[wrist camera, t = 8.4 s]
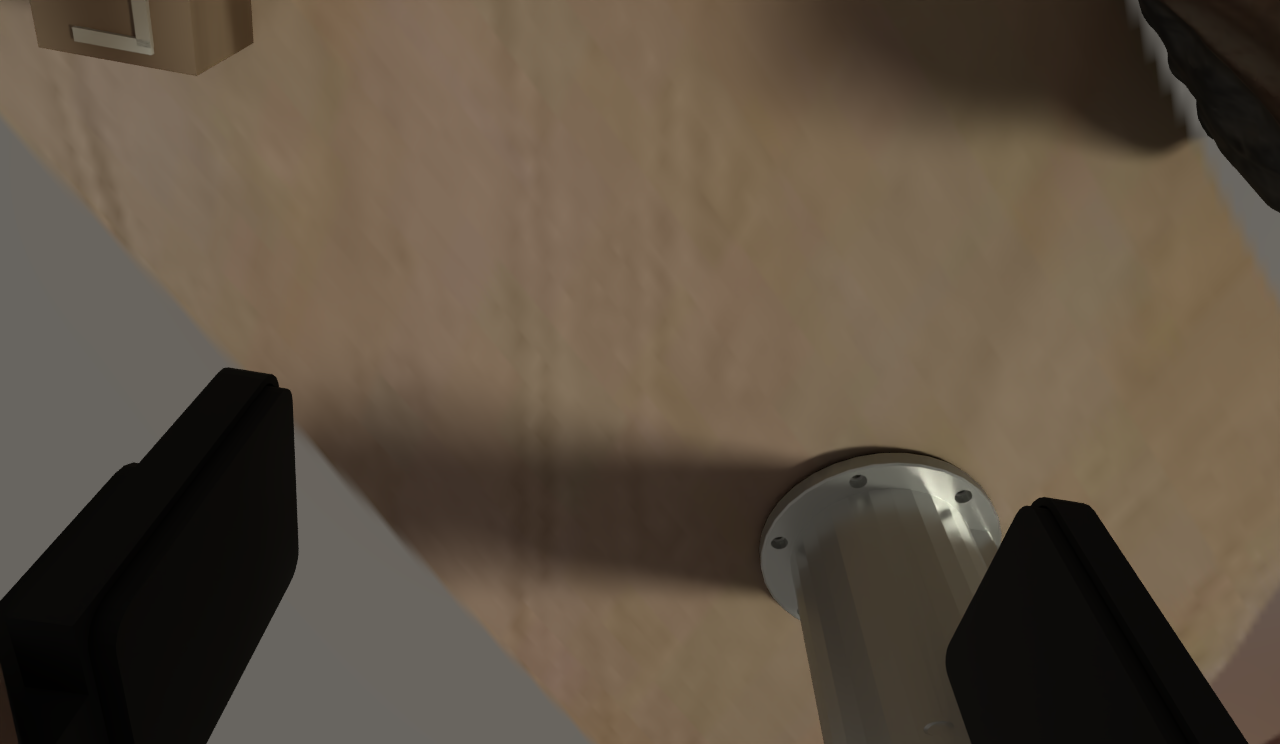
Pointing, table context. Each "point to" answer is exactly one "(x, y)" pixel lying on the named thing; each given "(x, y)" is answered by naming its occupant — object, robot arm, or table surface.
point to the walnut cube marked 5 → (146, 30)
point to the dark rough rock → (1230, 77)
